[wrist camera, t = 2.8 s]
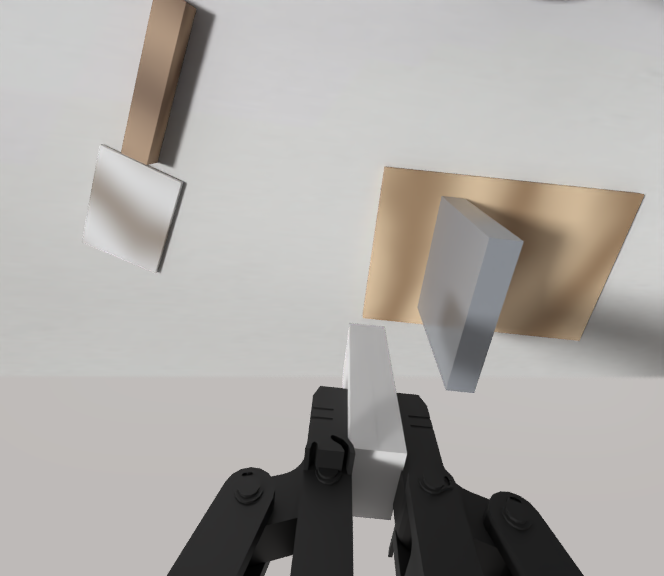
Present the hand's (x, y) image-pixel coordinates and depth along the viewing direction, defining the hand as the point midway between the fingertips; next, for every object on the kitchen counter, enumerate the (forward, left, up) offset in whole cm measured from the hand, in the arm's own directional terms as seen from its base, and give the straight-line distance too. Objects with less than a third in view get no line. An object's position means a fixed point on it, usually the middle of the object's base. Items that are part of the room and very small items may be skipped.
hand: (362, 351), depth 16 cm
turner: (+8, -15, -14) cm, 22 cm away
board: (-7, +7, -14) cm, 17 cm away
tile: (-5, +4, -13) cm, 15 cm away
